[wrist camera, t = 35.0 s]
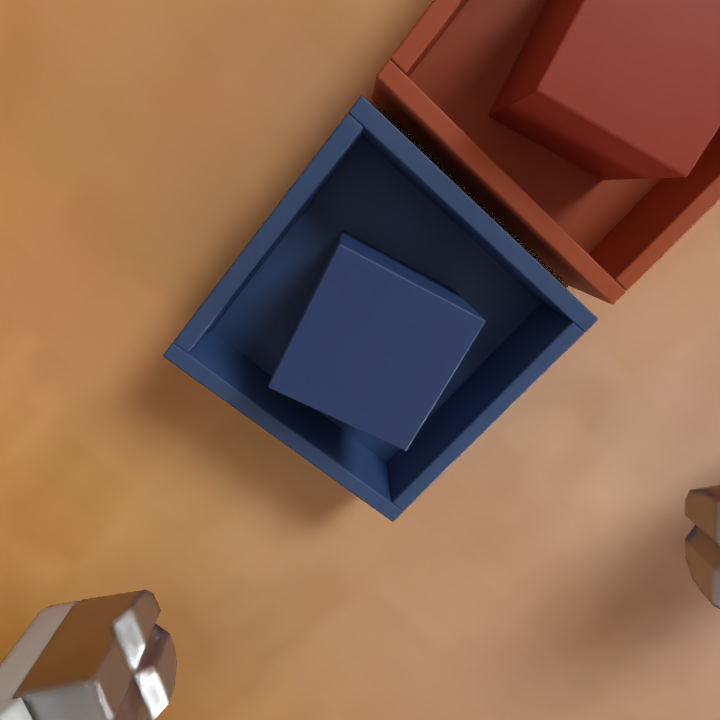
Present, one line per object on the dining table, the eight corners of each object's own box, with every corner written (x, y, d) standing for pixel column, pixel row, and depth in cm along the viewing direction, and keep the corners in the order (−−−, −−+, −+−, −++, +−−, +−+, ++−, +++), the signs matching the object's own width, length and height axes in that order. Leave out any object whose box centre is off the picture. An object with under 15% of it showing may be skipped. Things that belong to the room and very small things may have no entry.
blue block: (394, 394, 21) (406, 452, 16) (286, 342, 20) (266, 387, 15) (455, 290, 19) (486, 321, 15) (342, 229, 19) (339, 242, 14)
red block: (603, 181, 18) (687, 178, 14) (487, 116, 17) (534, 90, 13) (686, 42, 17) (810, -13, 12) (563, -35, 16) (648, -124, 12)
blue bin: (386, 473, 22) (393, 522, 19) (193, 328, 20) (162, 356, 17) (558, 298, 20) (599, 319, 17) (359, 112, 18) (361, 94, 14)
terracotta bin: (569, 286, 20) (613, 305, 16) (370, 97, 18) (375, 76, 14) (790, 60, 17) (893, 29, 14) (592, -191, 15) (659, -297, 12)
